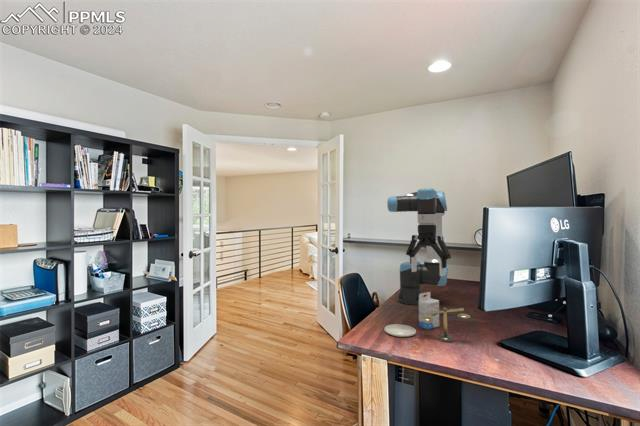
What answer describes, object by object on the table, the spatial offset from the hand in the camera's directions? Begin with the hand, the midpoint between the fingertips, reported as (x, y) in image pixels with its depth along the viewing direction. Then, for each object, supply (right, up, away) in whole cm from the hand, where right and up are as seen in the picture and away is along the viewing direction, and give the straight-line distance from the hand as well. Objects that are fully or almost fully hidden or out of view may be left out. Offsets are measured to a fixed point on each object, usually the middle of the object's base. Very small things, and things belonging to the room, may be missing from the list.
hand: (427, 273), depth 130 cm
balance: (+4, -25, -9) cm, 26 cm away
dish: (-12, -25, -1) cm, 28 cm away
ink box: (+3, -25, +6) cm, 26 cm away
